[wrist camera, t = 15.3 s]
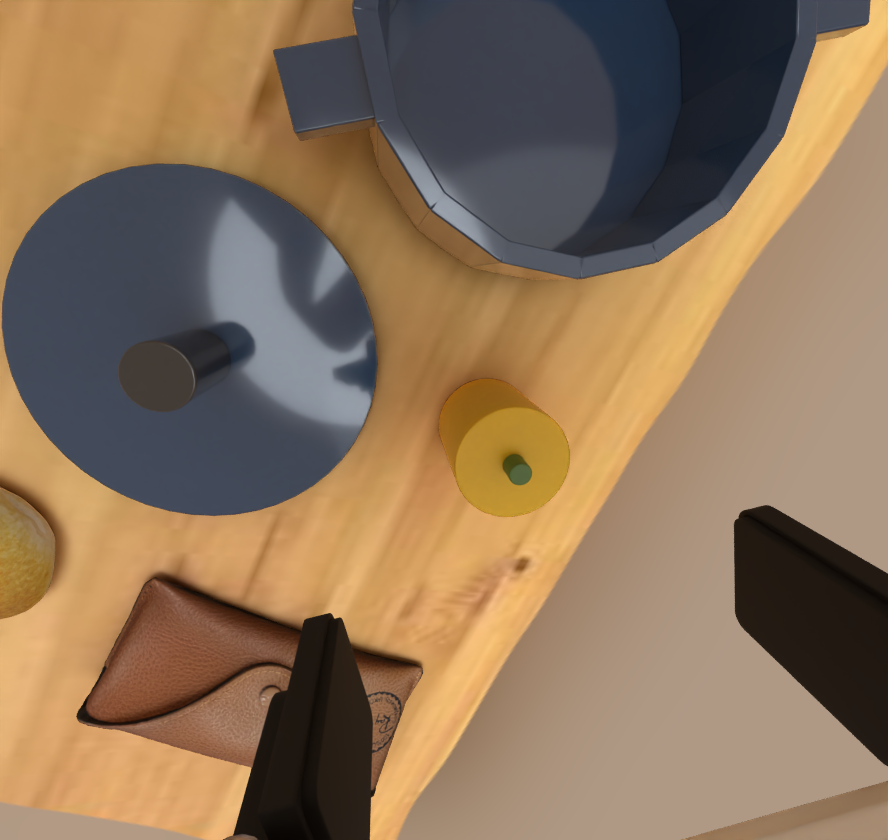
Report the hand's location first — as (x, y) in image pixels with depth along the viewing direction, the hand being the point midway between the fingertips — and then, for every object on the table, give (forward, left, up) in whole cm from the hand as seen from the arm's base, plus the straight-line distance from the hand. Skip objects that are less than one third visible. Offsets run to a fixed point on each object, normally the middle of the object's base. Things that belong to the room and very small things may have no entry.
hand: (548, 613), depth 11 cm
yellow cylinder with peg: (+1, +2, -16) cm, 16 cm away
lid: (-6, -11, -15) cm, 20 cm away
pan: (-14, +7, -16) cm, 22 cm away
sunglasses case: (+13, -14, -16) cm, 25 cm away
